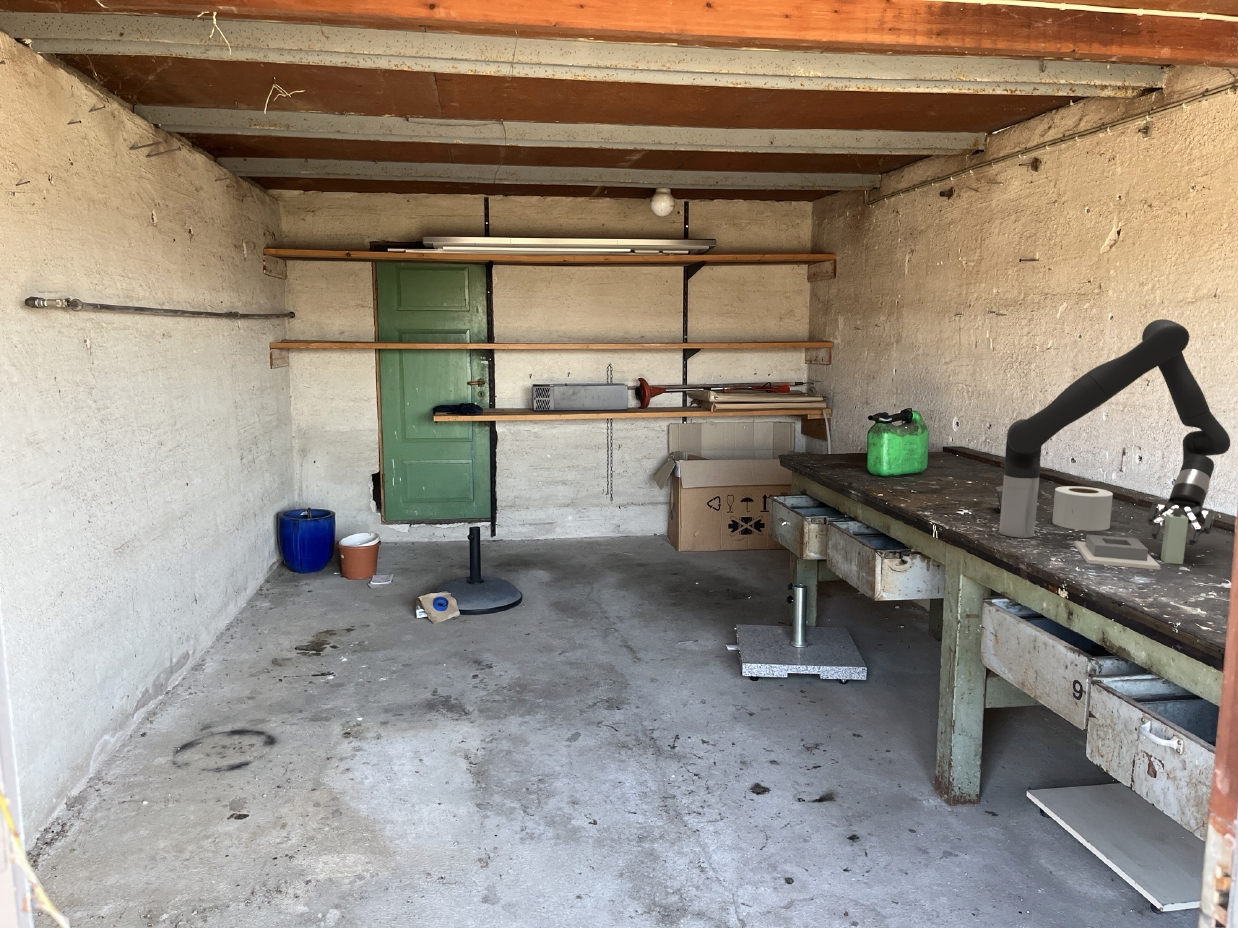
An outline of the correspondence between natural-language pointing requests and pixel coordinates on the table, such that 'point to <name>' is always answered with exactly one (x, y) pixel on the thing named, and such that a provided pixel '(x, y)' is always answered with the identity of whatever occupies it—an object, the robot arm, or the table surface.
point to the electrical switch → (999, 494)
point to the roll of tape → (1082, 508)
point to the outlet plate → (1114, 560)
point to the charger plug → (1174, 537)
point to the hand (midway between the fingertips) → (1172, 540)
